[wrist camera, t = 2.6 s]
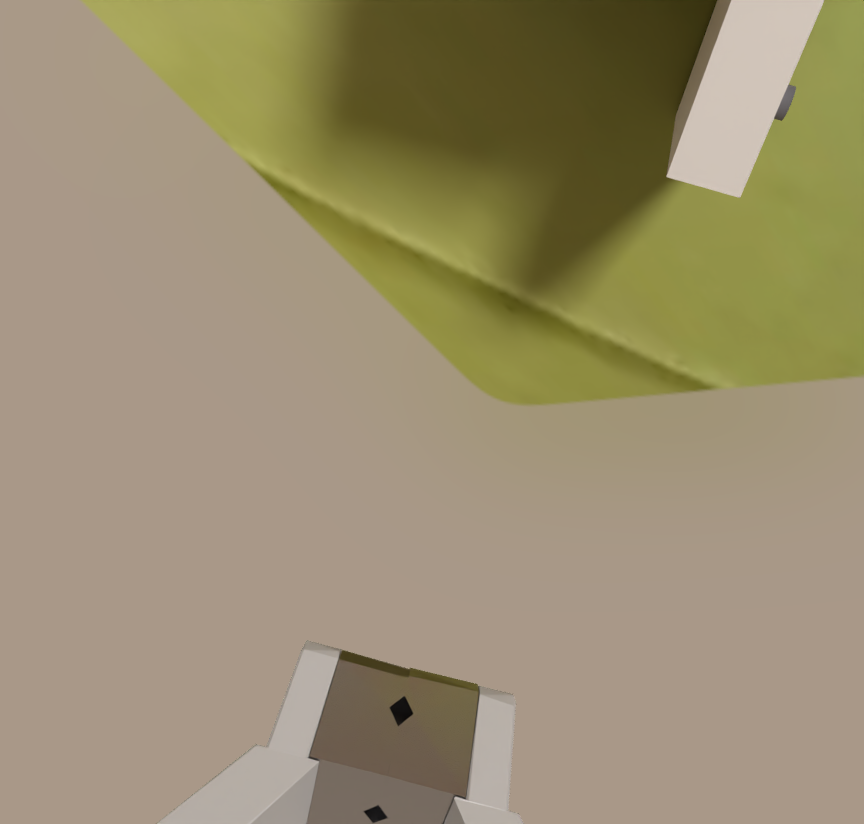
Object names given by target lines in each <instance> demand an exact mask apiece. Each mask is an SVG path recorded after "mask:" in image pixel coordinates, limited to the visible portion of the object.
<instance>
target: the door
mask: <svg viewBox="0 0 864 824" xmlns="http://www.w3.org/2000/svg"><path fill="white" fill-rule="evenodd" d="M823 2H824V0H717V2H716V5H715V8H714V11H713V14H712V16H711V19H710V22H709V25H708V28H707V30H706V33H705V36H704V39H703V41H702V44H701V47H700V50H699V53H698V55H697V58H696V61H695V64H694V66H693V69H692V72H691V75H690V78H689V80H688V83H687V86H686V89H685V92H684V94H683V97H682V100H681V103H680V105H679V108H678V111H677V114H676V118H675V125H674V131H673V138H672V144H671V150H670V157H669V163H668V169H667V176H666V177H668V178H672V179H675V180H679V181H682V182H686V183H690V184H693V185H697V186H700V187H704V188H707V189H711V190H714V191H718V192H721V193H725V194H728V195H732V196H736V197H739V198H740V196H741V194H742V192H743V189H744V187H745V185H746V182H747V180H748V178H749V175H750V173H751V171H752V168H753V166H754V164H755V161H756V159H757V157H758V154H759V152H760V150H761V147H762V145H763V143H764V140H765V138H766V136H767V133H768V131H769V129H770V126H771V124H772V121H773V119H777V120H781V121H782V120H783V118H784V117H785V115H786V113H787V111H788V109H789V107H790V105H791V102H792V100H793V97H794V94H795V90H796V87H795V86H792V85H788V84H789V82H790V79H791V77H792V75H793V72H794V70H795V68H796V65H797V63H798V61H799V58H800V56H801V54H802V51H803V49H804V47H805V44H806V42H807V40H808V37H809V35H810V33H811V30H812V28H813V26H814V23H815V21H816V19H817V16H818V14H819V11H820V9H821V7H822V4H823Z"/></svg>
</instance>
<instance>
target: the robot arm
mask: <svg viewBox="0 0 864 824" xmlns="http://www.w3.org/2000/svg"><path fill="white" fill-rule="evenodd" d="M515 709H516V701H515V698H514V695H513V694H510V693H506V692H502V691H498V690H493V689H490V688H485V687H481V686H478V685H477V684H474V683H470V682H466V681H462V680H458V679H454V678H450V677H446V676H442V675H437V674H433V673H429V672H425V671H421V670H417V669H413V668H410V669H408V668H404V667H401V666H397V665H394V664H390V663H387V662H383V661H379V660H376V659H372V658H369V657H365V656H361V655H358V654H355V653H351V652H348V651H344V650H341V649H338V648H334V647H330V646H326V645H322V644H319V643H315V642H311V641H306V643H305V645H304V647H303V648H302V650H301V653H300V655H299V658H298V661H297V664H296V666H295V669H294V672H293V675H292V677H291V680H290V683H289V686H288V688H287V691H286V694H285V697H284V699H283V702H282V705H281V708H280V710H279V713H278V716H277V719H276V721H275V724H274V727H273V730H272V732H271V735H270V738H269V741H268V744H267V746H266V747H265V746H261V745H257V744H256V745H254V746H253V747H252V748H251V749H249V750H248V751H247V752H246V753H244V754H243V755H242V756H241V757H239V758H238V759H237V760H235V761H234V762H233V763H232V764H230V765H229V766H228V767H227V768H225V769H224V770H223V771H222V772H221V773H219V774H218V775H217V776H215V777H214V778H213V779H212V780H211V781H209V782H208V783H207V784H205V785H204V786H203V787H202V788H200V789H199V790H198V791H197V792H196V793H194V794H193V795H192V796H190V797H189V798H188V799H187V800H185V801H184V802H183V803H182V804H180V805H179V806H178V807H177V808H175V809H174V810H173V811H171V812H170V813H169V814H168V815H166V816H165V817H164V818H163V819H162V820H160V821H159V822H158V823H156V824H524V823H523V821H522V820H521V817H520V815H519V814H518V813H515V812H512V811H509V810H508V806H509V791H510V777H511V764H512V750H513V737H514V736H513V735H514V721H515Z"/></svg>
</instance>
